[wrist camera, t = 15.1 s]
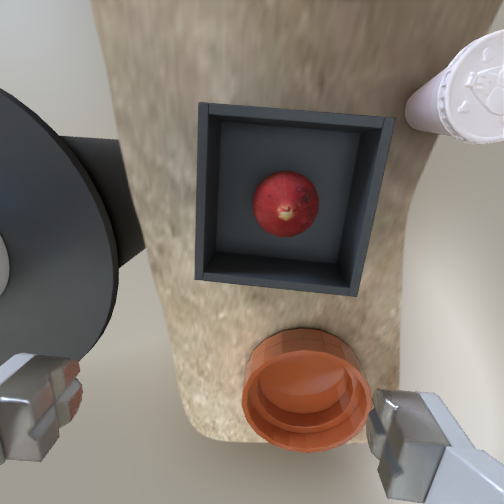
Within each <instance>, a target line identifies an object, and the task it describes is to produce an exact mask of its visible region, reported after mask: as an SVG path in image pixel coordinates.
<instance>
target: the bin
mask: <svg viewBox="0 0 504 504" xmlns="http://www.w3.org/2000/svg"><path fill="white" fill-rule="evenodd" d="M395 119H396V118H392V117H378V116H366V115H354V114H341V113H329V112H316V111H304V110H291V109H279V108H267V107H254V106H242V105H229V104H217V103H205V102H199V103H198V147H197V192H196V237H195V280H203V281H211V282H221V283H230V284H240V285H249V286H259V287H268V288H278V289H287V290H296V291H306V292H315V293H325V294H334V295H344V296H353V297H357V295H358V290H359V286H360V281H361V276H362V272H363V267H364V263H365V258H366V253H367V249H368V244H369V239H370V235H371V230H372V226H373V221H374V216H375V212H376V207H377V202H378V198H379V193H380V188H381V184H382V179H383V175H384V170H385V165H386V161H387V156H388V151H389V147H390V142H391V138H392V133H393V128H394V124H395ZM282 171H293V172H296V173H299V174H303V175H304V176H305V177H306V178H307V179H308V180H310V181H311V182H312V183H313V184H314V186H315V189H316V191H317V194H318V197H319V206H318V214H317V216H316V218H315V220H314V222H313V224H312V225H311V226H310V227H309V228H308V229H306V230H305V231H304V232H303V233H300V234H298V235H295V236H293V237H277V236H275V235H272V234H270V233H267V232H266V231H265V230H264V229H263V228H262V227H261V226H260V225H259V223H258V221H257V219H256V217H255V215H254V213H253V203H252V199H253V196H254V193H255V191H256V188H257V186H258V185H259V184H260V183H261V182H262V181H263V180H264V179H265V178H266V177H268V176H270V175H272V174H274V173H276V172H282Z"/></svg>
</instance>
